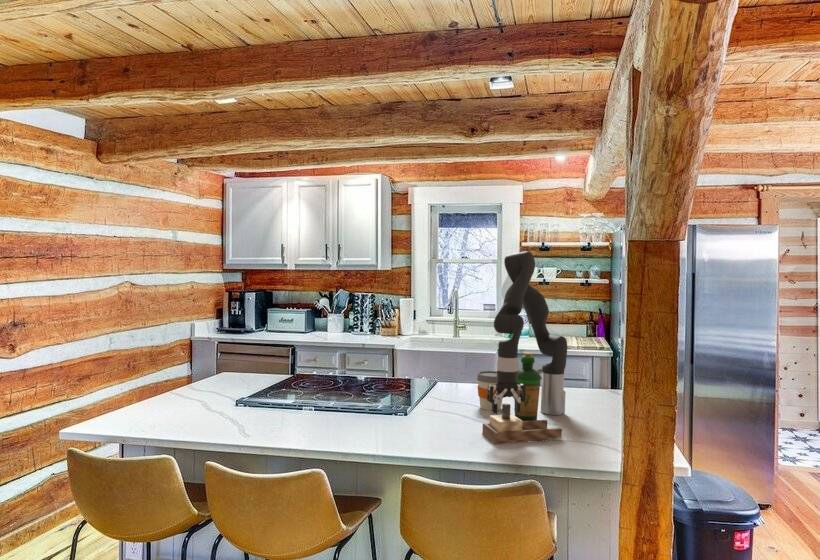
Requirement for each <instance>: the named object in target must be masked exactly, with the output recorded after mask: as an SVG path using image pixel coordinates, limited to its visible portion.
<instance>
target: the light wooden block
mask: <svg viewBox="0 0 820 560" xmlns="http://www.w3.org/2000/svg"><path fill="white" fill-rule="evenodd" d="M488 421H489V422H488V423H489V426H490V427H492V428H493V429H494V430H496V431H497V432H503V431H520V430H522V426H523V421H522V420H520V419H519V418H517V417H516V416H515V414H513V413H511V404H510V403H502V405H501V414H493V415H489V420H488Z"/></svg>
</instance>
